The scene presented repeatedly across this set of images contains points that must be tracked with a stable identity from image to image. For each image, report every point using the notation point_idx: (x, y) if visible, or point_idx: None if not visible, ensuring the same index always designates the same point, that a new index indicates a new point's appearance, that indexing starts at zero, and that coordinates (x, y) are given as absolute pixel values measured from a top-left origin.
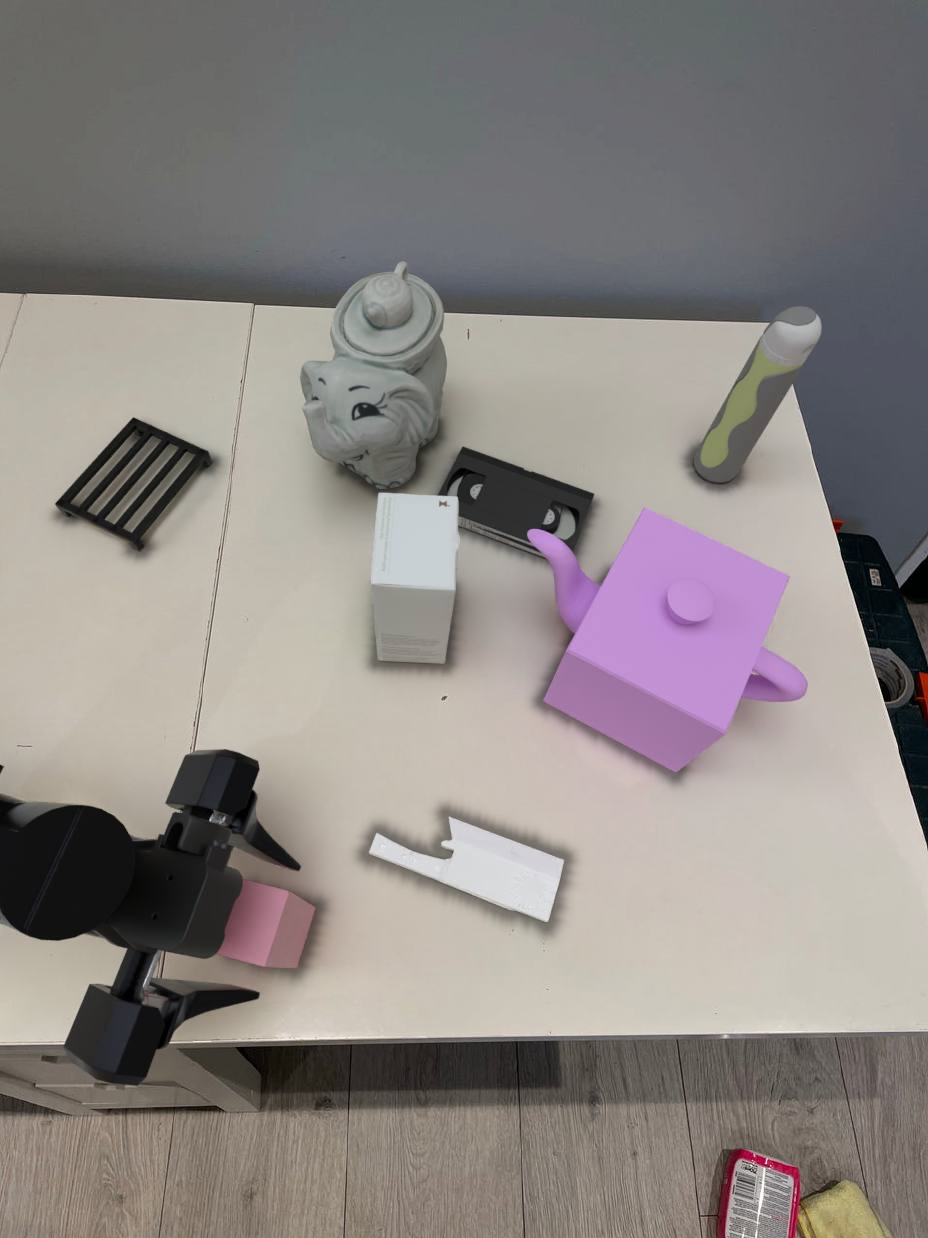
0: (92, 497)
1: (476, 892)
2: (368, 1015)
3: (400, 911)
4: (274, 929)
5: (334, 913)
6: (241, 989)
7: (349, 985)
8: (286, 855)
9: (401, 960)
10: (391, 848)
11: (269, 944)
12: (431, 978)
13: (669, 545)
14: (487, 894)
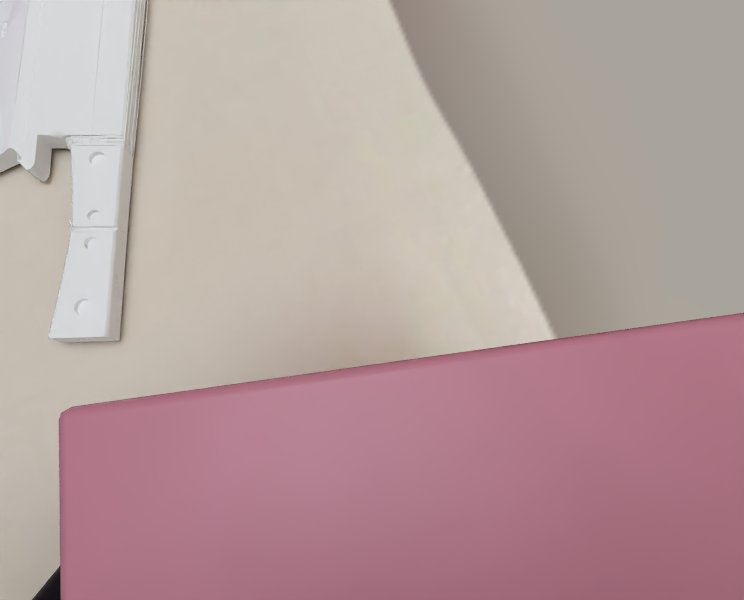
0: None
1: (125, 57)
2: (456, 204)
3: (231, 218)
4: (533, 372)
5: (289, 364)
6: None
7: (420, 264)
8: (52, 593)
9: (329, 179)
10: (78, 283)
11: (685, 355)
12: (339, 110)
13: None
14: (122, 34)
